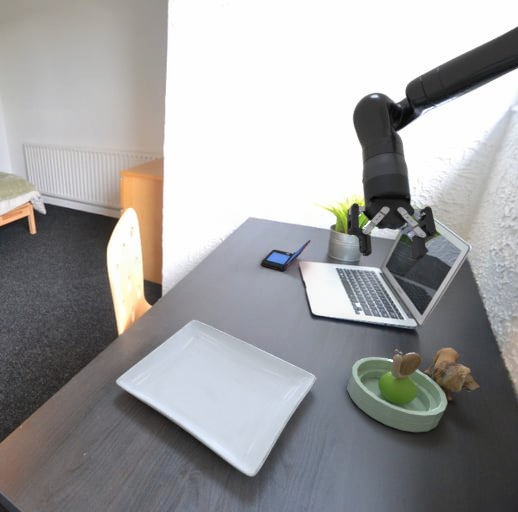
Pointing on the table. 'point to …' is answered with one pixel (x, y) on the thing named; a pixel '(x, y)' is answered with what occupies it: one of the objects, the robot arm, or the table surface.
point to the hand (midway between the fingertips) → (392, 256)
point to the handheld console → (281, 258)
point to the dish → (395, 415)
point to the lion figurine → (450, 373)
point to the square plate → (220, 392)
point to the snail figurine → (400, 379)
